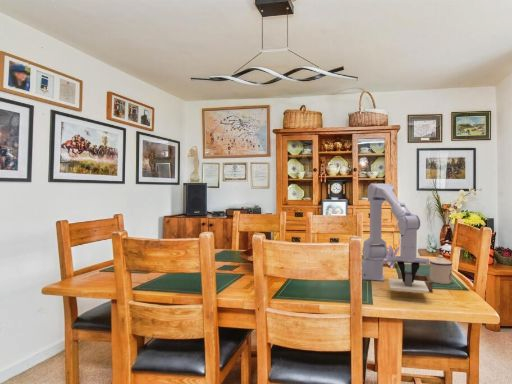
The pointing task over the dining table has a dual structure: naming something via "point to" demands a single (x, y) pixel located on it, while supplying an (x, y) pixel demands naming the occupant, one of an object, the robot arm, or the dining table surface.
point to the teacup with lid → (440, 270)
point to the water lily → (391, 253)
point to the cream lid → (408, 284)
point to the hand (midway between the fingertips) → (407, 281)
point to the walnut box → (421, 278)
